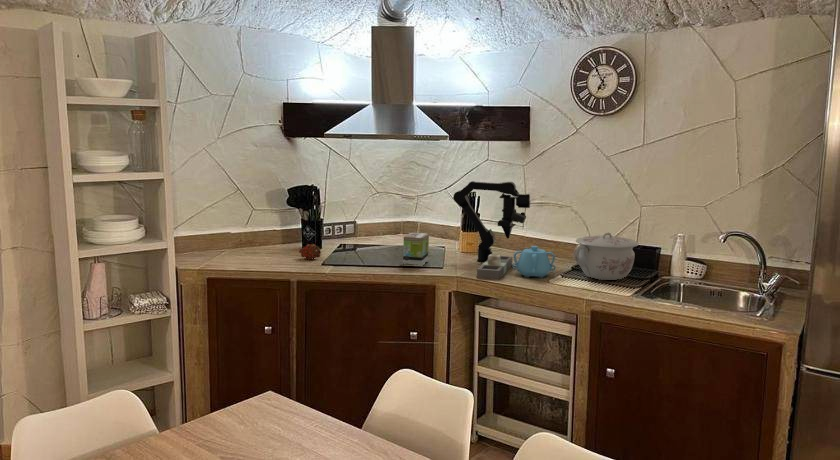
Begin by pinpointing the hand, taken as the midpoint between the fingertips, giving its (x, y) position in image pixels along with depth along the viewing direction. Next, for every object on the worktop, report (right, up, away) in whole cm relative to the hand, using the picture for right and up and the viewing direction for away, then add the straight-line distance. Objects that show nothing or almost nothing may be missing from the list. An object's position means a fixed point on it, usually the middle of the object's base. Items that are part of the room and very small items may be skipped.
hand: (508, 238), depth 332 cm
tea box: (-46, -13, -5) cm, 48 cm away
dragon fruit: (-99, -11, +4) cm, 100 cm away
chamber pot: (+40, -18, -31) cm, 53 cm away
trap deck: (-8, -15, -19) cm, 26 cm away
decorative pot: (+8, -17, -27) cm, 33 cm away
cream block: (-9, -12, -23) cm, 27 cm away
